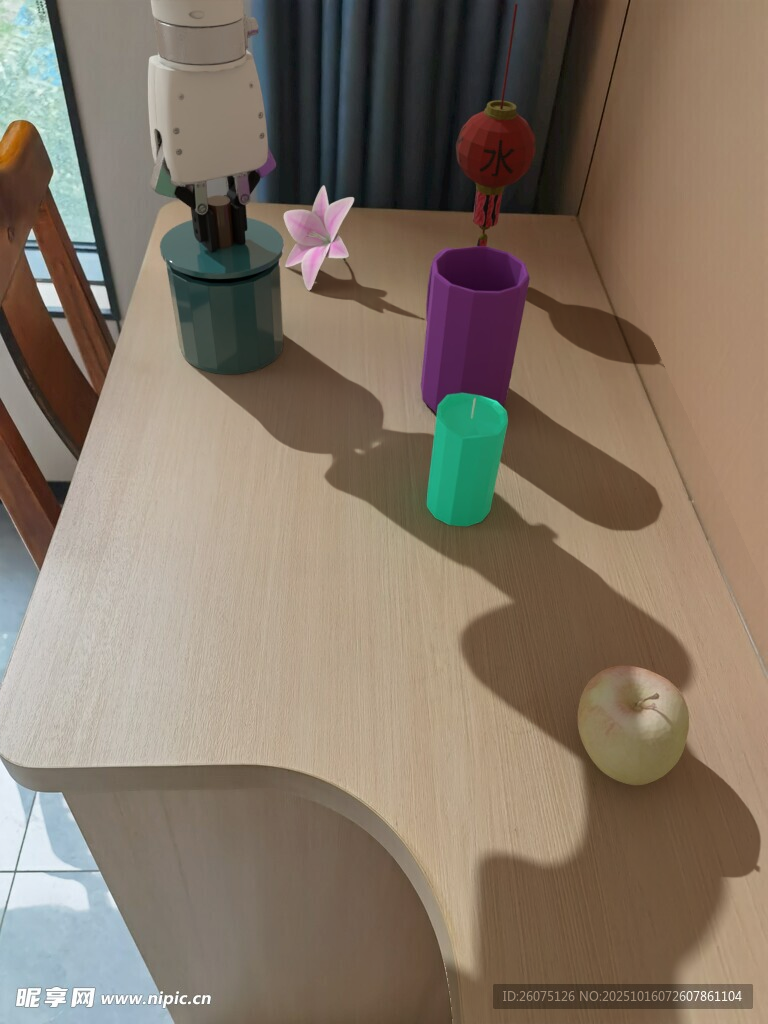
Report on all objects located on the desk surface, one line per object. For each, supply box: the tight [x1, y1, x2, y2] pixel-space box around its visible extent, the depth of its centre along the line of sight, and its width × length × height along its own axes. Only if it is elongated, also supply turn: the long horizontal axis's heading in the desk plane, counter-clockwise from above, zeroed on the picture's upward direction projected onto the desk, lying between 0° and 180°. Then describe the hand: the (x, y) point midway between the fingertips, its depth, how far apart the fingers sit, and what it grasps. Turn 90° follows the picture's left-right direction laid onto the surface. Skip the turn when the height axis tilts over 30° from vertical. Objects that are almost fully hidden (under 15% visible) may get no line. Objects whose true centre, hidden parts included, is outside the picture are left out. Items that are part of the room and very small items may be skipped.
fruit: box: [577, 665, 690, 786], centre depth 54 cm, size 8×7×8 cm
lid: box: [159, 195, 285, 279], centre depth 80 cm, size 12×12×6 cm
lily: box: [283, 185, 355, 291], centre depth 100 cm, size 12×12×10 cm
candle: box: [426, 393, 509, 527], centre depth 69 cm, size 6×6×12 cm
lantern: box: [455, 2, 537, 247], centre depth 95 cm, size 10×10×30 cm
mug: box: [420, 245, 531, 414], centre depth 82 cm, size 9×16×15 cm, turn 18°
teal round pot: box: [165, 258, 284, 375], centre depth 86 cm, size 11×11×10 cm
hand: (221, 241), depth 81 cm, fingers closed on lid, 2 cm apart
